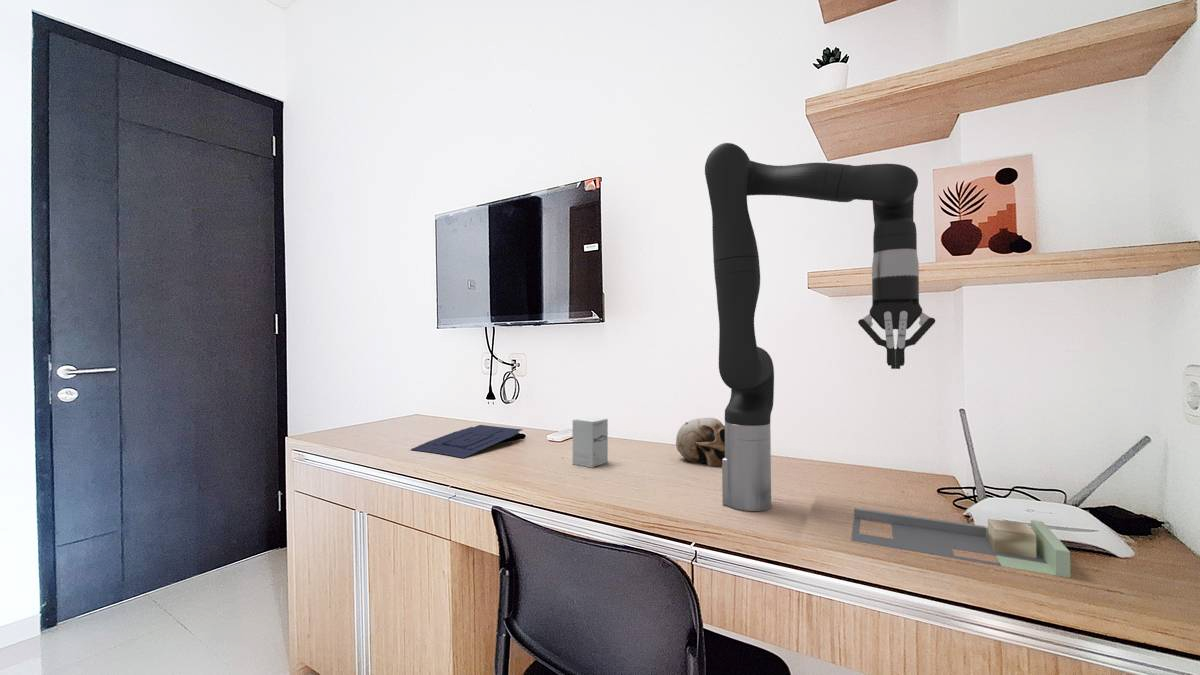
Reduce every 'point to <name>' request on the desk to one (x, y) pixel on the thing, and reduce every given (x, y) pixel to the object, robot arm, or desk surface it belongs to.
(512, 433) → the navy blue folder
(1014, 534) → the maple block
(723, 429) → the human skull
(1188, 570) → the desk surface
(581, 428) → the supplement box
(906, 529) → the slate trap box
